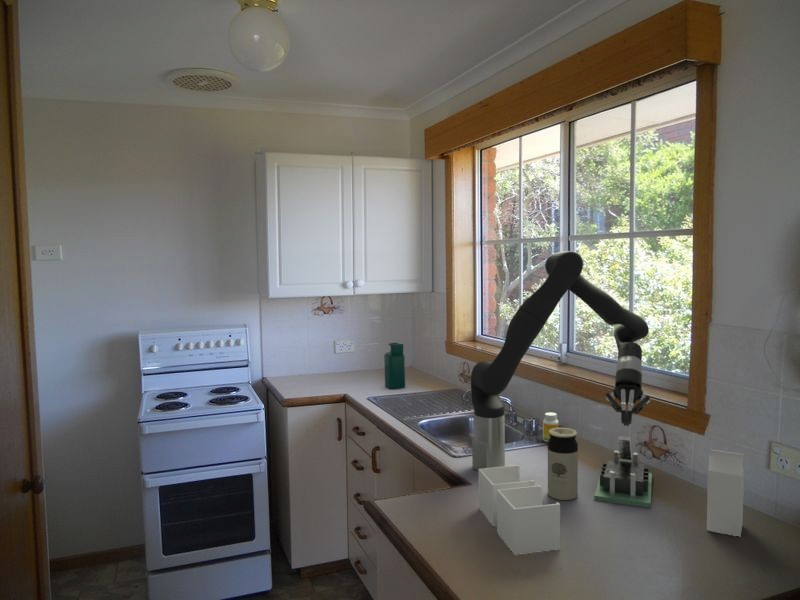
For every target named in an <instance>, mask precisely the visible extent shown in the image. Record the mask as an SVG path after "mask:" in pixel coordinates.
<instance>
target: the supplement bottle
mask: <svg viewBox="0 0 800 600" xmlns="http://www.w3.org/2000/svg"><path fill="white" fill-rule="evenodd" d="M557 418H558V416H557V413H556V412H545V413H544V419H543V421H542V440H543V442H545V443H548V441H549V439H550V434H549V430H550V429H553V428H560V427H559V426H560V425H559V420H558V419H557Z"/></svg>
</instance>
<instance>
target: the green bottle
mask: <svg viewBox="0 0 800 600" xmlns="http://www.w3.org/2000/svg"><path fill="white" fill-rule="evenodd" d="M388 346H390V348H389V349H390V351H389V352H386V353H384V357H383V358H384V363H383V364H384V387H385V388H386V389H389V390H392V391H393V390H400V389H405V388H406V369H405V368H406V365H405V363H406V361H405V358H406V357H405V354H404V343H398V342H390V343H388Z"/></svg>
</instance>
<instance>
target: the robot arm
mask: <svg viewBox="0 0 800 600" xmlns="http://www.w3.org/2000/svg"><path fill="white" fill-rule="evenodd" d="M582 257H583V256H581V254H579V252H577V251H572V250H565V251H563V250H562V251H559V252H555V253H551V254H550V255H549V256H547V258H546V260H545V264H544V266H545V267H544V268H545V272H546V274H547V275H548V276H547V278H546V279H545V281H544V282H543V283H542V285H540V287H539V288H538V289H537V290H535V291H534V292H533V293H531V295H530V296H528V298H527V299H525V300H524V301H523V303H522V304H521V305H520V306H519V308H518V309H517V310H516V312H515V314H514V315H513V316H512V318H511V320H510V321H509V324H508V325H507V326H508V327H507V330H506V333H505V335H506V336H505V339H504V343H503V345H502V347H501V349H500V351H499V353H498V354H497V356H496V357H495V358H494V359H493V361H488V360H482V361H481V360H480V361H479V362H477V363H476V364H475V365H474V366H473V367H472V370H471V374H470V389H471V392H470V393H471V394H470V396H471V404H472V406H473V411H474V412H473V413H474V414H473V416H474V419H473V421H474V422H473V423H474V424H473V425H474V427H473V429H474V438H472V440H471V443H472V445H471V446H472V447H471V448H472V449H471V453H472V457H471V459H472V460H471V461H472V470H475V471H478V469H483V468H493V467H503V466H506V456H505V455H506V451H505V450H506V449H505V448H506V446H505V445H506V443H505V442H506V439H505V437H506V434H505V433H506V431H505V428H506V427H505V426H506V425H505V422H506V421H505V416H506V415H505V414H506V413H505V405H504V403H503V402H502V400H501V398H500V397H501V396H500V394H502V392H504V391H505V390H506V389H507V387H508V385H509V383H511V382H510V381H511V380H512V379H513V376H514V375H515V372H516V370H517V369H518V366H519V364H520V363H521V361H522V359H523V358H524V356H525V355H526V353H527V352H528V350H529V349H530V347H531V346H532V344H533V342H534V341H535V339H536V338H537V337H538V336H539V334H540V333H541V331H542V329H543V328H544V327H545V325H546V323H547V321H548V320H549V319H550V317H551V315H552V313H553V312H554V310H555V309H556V308H557V306H558V304H559V302H560V301H561V300H562V298H564V297H563V296H564V295H565V294H566V293H567V291H570V292H571V293H572V294H574V295H575V296H576V297H577V298H579V299H580V300H581V301H582V302H583V303H585V304H586V305H587V306H588V307H589V308H590V309H591V310H592V311H594V313H595V314H597V316H599V317H600V319H602V321H604V322H605V323H606V324H608V325H609V326H614V325H617V326H616V327H615V329H614V332H613V337H614V340H615V343H616V347H617V348H616V349H617V351H618V352H617V362H616V367H615V380H614V381H615V382H614V388H613V389H612V391H611V392H606V393H605V400H606V401H607V402H608V404H609V405H610V407H612V408H613V410H614V411H615V412H616V413H620V415H621V416H620V420H621V421H620V422H621V424H623V426H624V427H629V426H630V425H631V424H632V423H633V422H632V421H633V415H634V414H635V415H638V414H639V413H641V411H643V410H644V409H645V408H646V407H647V406H648V405H650V403H651V397H650V395H645V394H644V391H643V388H642V386H643V365H642V360H643V357H642V356H643V349H642V347H641V345H640V344H638V343H637V342H636V341H640V340H642V339H644V338H645V337H647V336H648V334H649V329H650V328H649V326H648V324H647V322H646V321H645V319H643V318H642V317H641V316H639V314H638V315H637V314H636V313H635V312H632V311H630V310H628V309H627V308H624V307H623V306H622V305H621V304H620V303H619V302H618V301H617V300H616V299H614V298H613V296H611V295H610V294H609V293H607V292H606V291H605V290H603V289H602V288H600V287H599V286H597V285H595V284H594V283H592V282H590V281H589V280H588V279H587V278H586V277H584V276H583V275H582V271H583V270H584V268H583V267H584V260H583V258H582ZM615 398H616V400H617V401H618V402H619V403H621V405H620V404H619V403H618V402H617V401H616V400H615ZM638 401H639V402H638ZM636 403H637V404H636ZM635 404H636V405H635ZM634 405H635V406H634Z"/></svg>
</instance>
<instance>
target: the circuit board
mask: <svg viewBox="0 0 800 600" xmlns="http://www.w3.org/2000/svg"><path fill="white" fill-rule="evenodd" d="M601 470H602V468H601ZM601 470H600V471H601ZM600 474H601V472H600V473H599V478H598V482H597V485H596V489H595V492H594V495H593V496H594V501H600V502H606V503H612V504H613V503H614V504H619V505H620V504H621V505H628V506H629V505H630V506H637V507H644V508H649V507H652V505H651V504H652V503H651V502H652V485H651V484H652V483H653V482H652V481H653V478H652V477H653V473H652V472H649V480H648V492H643V496H637V495H635V498H630V494H622V493H615V496H614V495H610V492H607V491H604V486H600Z"/></svg>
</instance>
